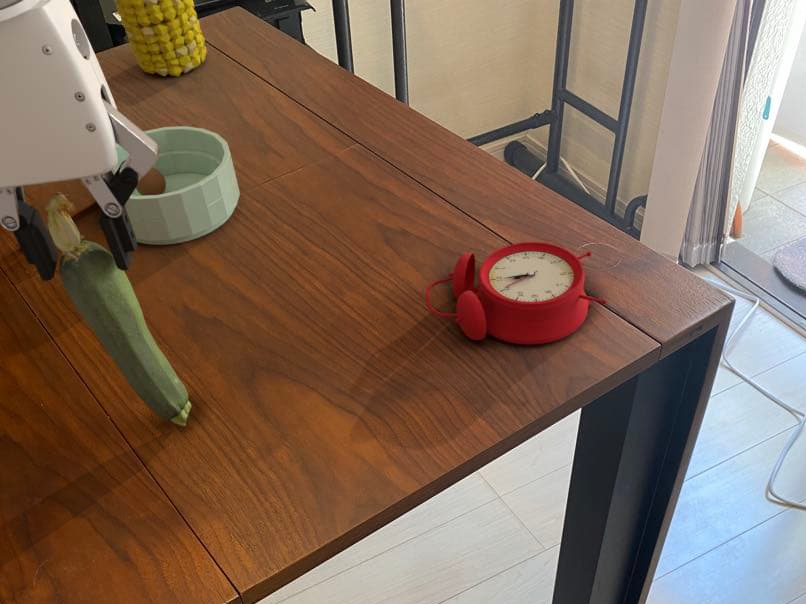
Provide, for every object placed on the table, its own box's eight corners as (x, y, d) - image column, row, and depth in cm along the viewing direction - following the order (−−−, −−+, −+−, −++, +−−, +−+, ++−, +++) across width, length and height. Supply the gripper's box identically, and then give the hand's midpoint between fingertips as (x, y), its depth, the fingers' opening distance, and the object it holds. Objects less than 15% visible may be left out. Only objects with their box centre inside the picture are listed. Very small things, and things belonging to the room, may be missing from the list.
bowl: (83, 221, 91) (63, 173, 86) (179, 162, 97) (165, 114, 93) (171, 263, 85) (155, 213, 80) (267, 197, 91) (257, 148, 87)
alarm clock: (616, 306, 70) (441, 287, 68) (591, 363, 75) (427, 348, 73) (592, 235, 77) (431, 216, 74) (571, 292, 82) (419, 276, 79)
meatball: (168, 202, 92) (145, 186, 92) (174, 175, 90) (151, 159, 90) (148, 207, 90) (125, 191, 90) (155, 179, 88) (131, 163, 88)
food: (222, 65, 115) (175, 102, 111) (154, 31, 117) (105, 65, 113) (211, -55, 102) (157, -20, 97) (135, -92, 104) (78, -59, 99)
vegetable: (148, 434, 70) (-1, 217, 56) (172, 399, 73) (35, 183, 59) (190, 435, 69) (47, 210, 54) (214, 399, 71) (82, 175, 57)
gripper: (127, -70, 48) (207, 220, 62) (-172, -34, 47) (-21, 249, 62) (115, -20, 43) (205, 280, 58) (-215, 20, 43) (-41, 312, 57)
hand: (87, 261), depth 60 cm, fingers open, 4 cm apart
